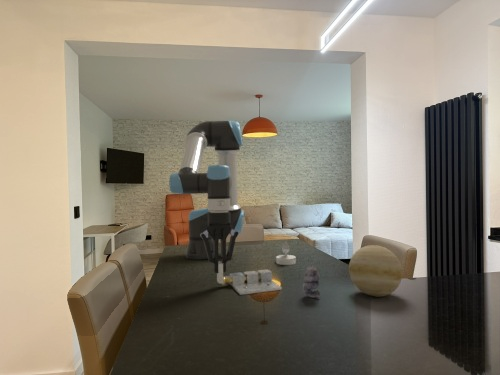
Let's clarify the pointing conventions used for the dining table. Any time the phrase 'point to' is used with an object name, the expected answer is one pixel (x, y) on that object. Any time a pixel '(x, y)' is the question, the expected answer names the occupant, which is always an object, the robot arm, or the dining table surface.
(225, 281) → the pin
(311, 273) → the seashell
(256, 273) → the hinge leaves
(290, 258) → the wall hook
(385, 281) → the decorative ball
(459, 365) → the dining table surface
